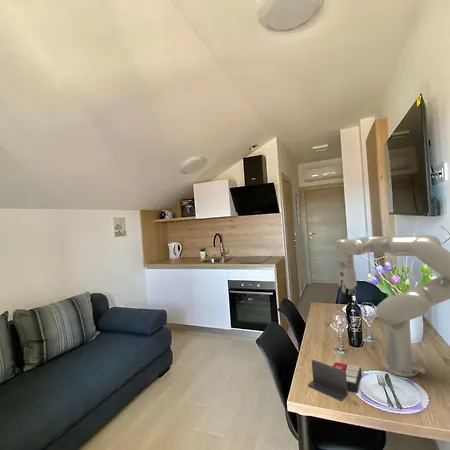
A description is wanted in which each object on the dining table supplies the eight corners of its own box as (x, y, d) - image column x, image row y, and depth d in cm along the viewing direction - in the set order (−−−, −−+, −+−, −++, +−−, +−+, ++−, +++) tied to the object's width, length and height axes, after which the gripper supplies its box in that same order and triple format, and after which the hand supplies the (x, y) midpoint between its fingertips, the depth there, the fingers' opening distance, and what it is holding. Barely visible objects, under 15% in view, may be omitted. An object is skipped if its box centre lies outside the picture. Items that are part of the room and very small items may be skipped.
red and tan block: (361, 365, 118) (356, 382, 105) (361, 376, 117) (357, 393, 105) (334, 360, 124) (326, 375, 111) (334, 370, 123) (327, 386, 111)
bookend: (347, 395, 104) (345, 371, 104) (341, 401, 101) (339, 376, 101) (314, 381, 115) (313, 359, 115) (308, 386, 112) (306, 364, 112)
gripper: (346, 267, 125) (350, 307, 125) (359, 262, 135) (363, 299, 135) (330, 266, 131) (334, 305, 130) (344, 262, 141) (347, 297, 141)
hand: (349, 302), depth 133 cm, fingers closed
